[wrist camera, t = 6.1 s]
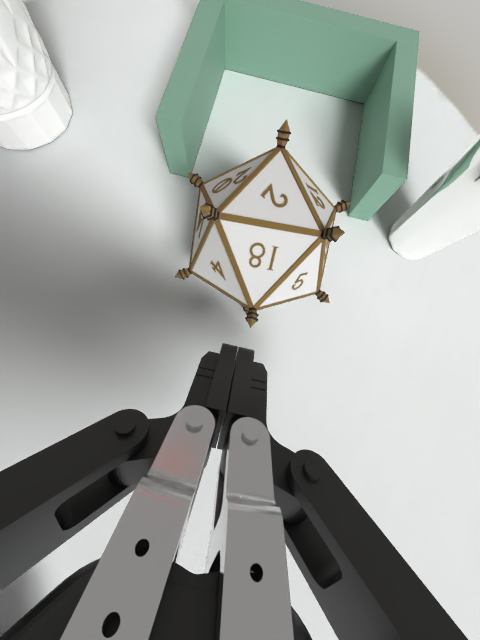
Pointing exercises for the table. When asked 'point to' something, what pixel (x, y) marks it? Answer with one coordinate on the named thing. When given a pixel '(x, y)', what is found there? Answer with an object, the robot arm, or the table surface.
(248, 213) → the game die
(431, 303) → the table surface
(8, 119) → the white cup
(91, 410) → the table surface
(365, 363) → the table surface
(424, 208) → the milkshake
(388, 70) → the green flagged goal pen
